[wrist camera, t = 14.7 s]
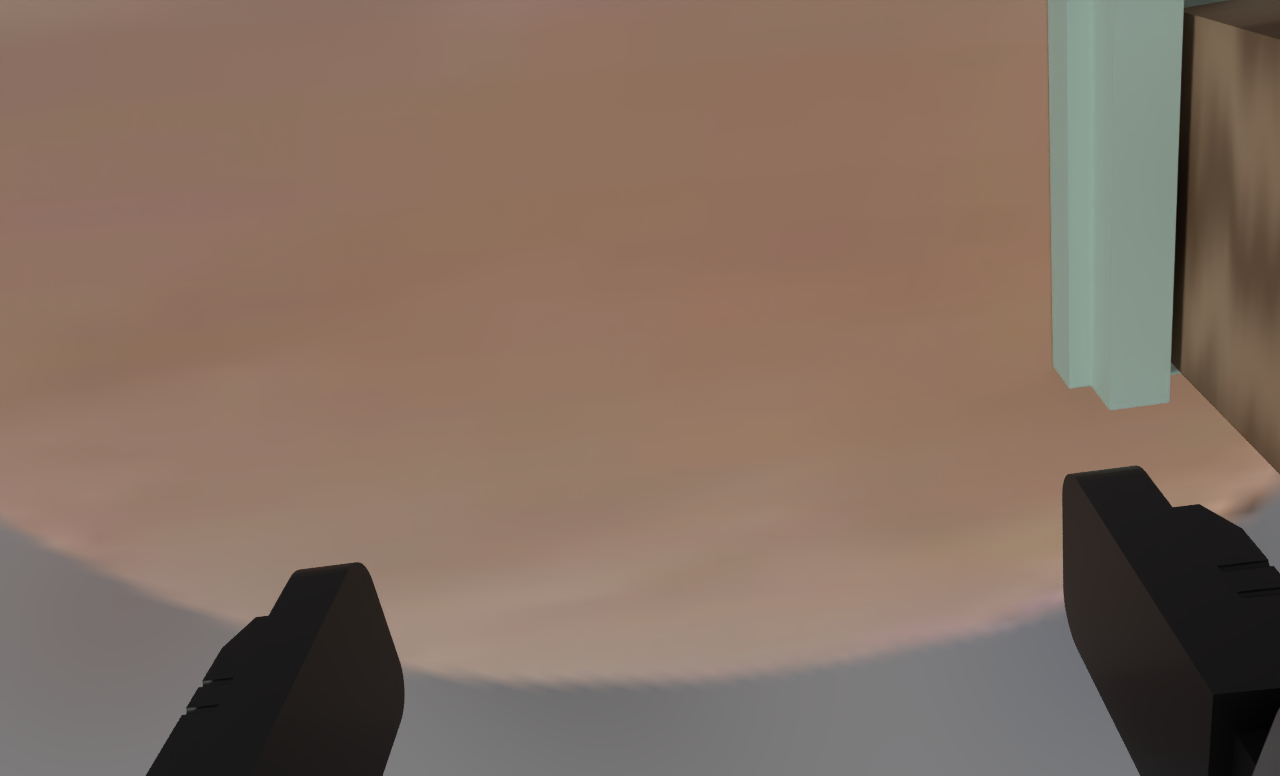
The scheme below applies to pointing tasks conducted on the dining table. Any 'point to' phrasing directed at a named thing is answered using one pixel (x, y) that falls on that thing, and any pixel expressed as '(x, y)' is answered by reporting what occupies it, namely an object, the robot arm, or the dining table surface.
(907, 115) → the dining table surface
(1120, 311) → the picture ledge
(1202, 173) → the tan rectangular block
